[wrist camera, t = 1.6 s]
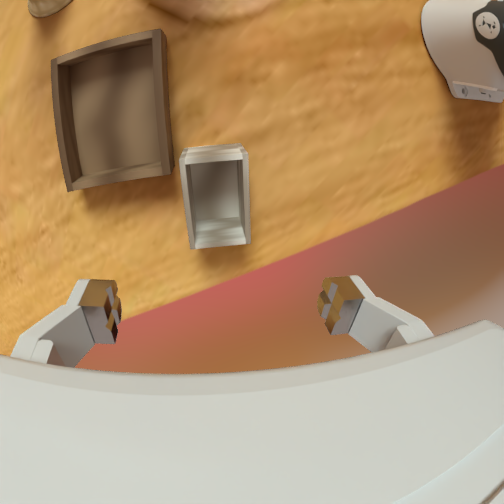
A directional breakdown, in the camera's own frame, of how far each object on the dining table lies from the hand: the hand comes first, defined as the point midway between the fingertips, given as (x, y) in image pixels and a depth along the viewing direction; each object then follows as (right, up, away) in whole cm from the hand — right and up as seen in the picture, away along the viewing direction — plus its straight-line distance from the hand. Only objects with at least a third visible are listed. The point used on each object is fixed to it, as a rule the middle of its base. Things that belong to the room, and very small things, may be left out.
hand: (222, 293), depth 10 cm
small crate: (-3, +9, +20) cm, 22 cm away
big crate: (-13, +16, +13) cm, 25 cm away
